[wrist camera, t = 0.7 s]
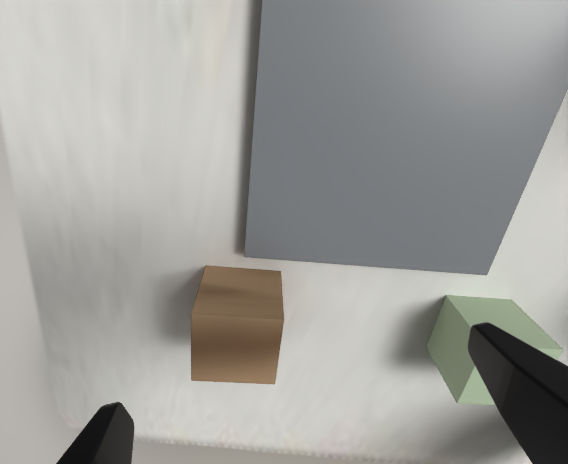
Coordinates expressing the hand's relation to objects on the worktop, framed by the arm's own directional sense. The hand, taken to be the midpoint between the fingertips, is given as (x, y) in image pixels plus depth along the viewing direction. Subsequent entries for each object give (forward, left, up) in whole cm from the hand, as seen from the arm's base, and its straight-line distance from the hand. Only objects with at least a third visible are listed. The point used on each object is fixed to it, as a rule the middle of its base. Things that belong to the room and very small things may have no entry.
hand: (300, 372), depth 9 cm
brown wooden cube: (-8, +2, -14) cm, 16 cm away
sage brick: (-9, -15, -14) cm, 22 cm away
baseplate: (+4, -6, -13) cm, 15 cm away
